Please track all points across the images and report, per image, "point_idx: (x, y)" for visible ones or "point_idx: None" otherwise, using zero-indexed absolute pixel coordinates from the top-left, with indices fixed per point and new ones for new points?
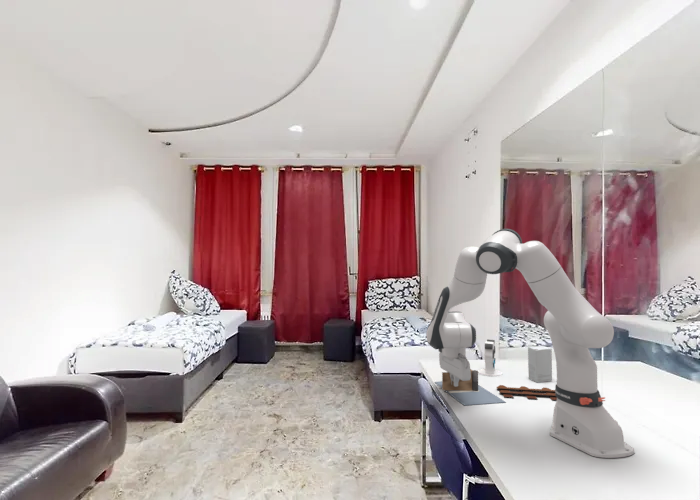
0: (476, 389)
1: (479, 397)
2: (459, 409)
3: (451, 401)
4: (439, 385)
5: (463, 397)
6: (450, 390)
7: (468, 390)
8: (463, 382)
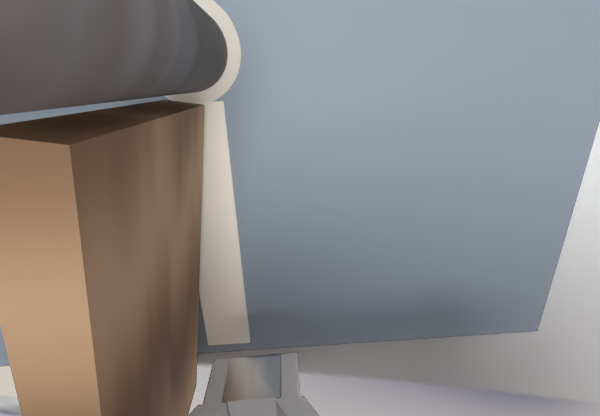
0: (225, 50)
1: (428, 121)
2: (572, 374)
3: (419, 375)
4: None
5: (384, 276)
6: None
7: None
8: (174, 252)
